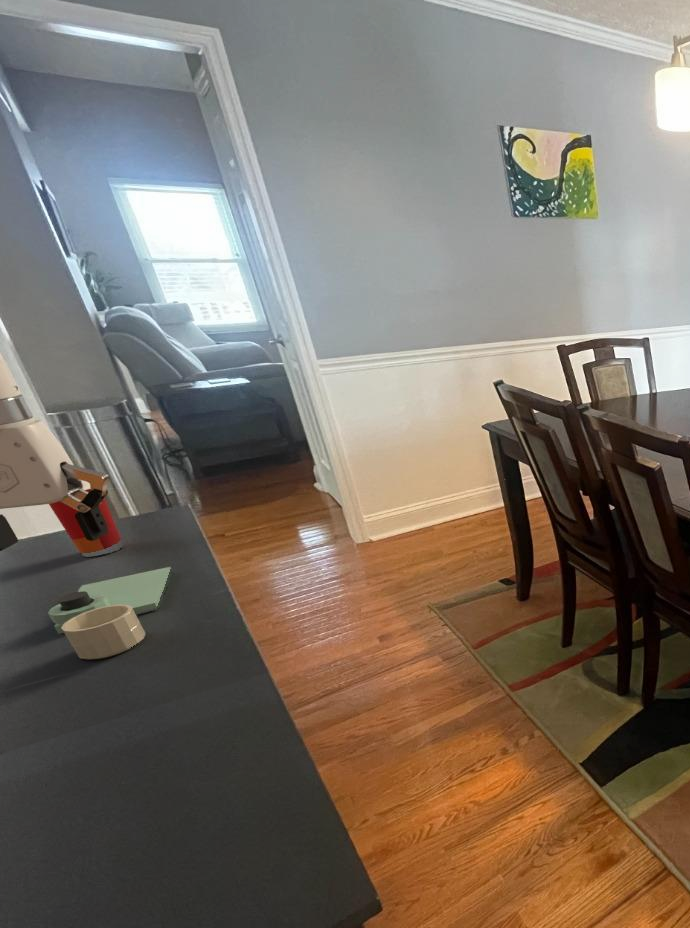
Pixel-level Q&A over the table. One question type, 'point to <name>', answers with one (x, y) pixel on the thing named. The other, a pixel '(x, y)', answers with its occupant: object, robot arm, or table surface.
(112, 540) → the paper cup
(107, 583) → the scale
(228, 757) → the table surface
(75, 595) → the button
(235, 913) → the table surface
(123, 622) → the bowl
